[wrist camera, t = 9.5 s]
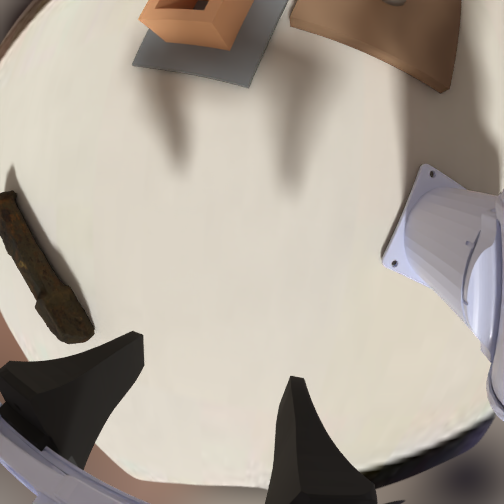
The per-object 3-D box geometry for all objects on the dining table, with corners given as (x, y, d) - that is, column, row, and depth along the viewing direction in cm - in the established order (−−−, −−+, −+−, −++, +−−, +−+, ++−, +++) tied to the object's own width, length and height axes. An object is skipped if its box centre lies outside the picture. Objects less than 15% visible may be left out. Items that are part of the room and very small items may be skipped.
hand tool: (7, 209, 24) (-21, 217, 20) (17, 187, 23) (-13, 193, 18) (87, 339, 26) (62, 361, 22) (103, 326, 25) (76, 349, 21)
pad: (294, -11, 14) (293, -14, 14) (248, 88, 17) (247, 86, 17) (182, -23, 14) (180, -25, 14) (134, 66, 17) (131, 64, 17)
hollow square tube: (255, -2, 14) (244, -35, 10) (229, 50, 16) (211, 22, 12) (192, -8, 15) (171, -36, 10) (166, 42, 16) (138, 19, 12)
